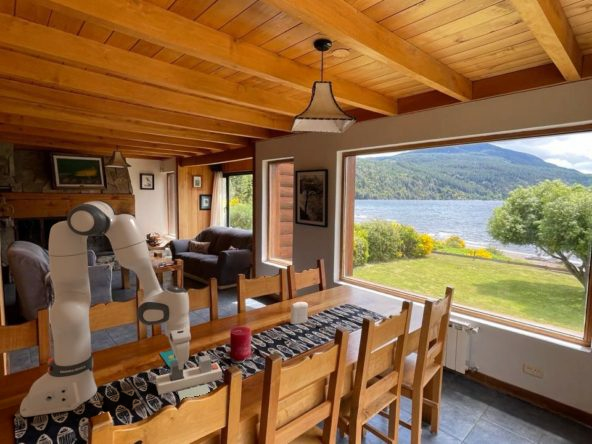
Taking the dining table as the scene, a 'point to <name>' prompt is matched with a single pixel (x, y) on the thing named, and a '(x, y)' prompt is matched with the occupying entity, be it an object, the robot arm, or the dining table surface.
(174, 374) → the block
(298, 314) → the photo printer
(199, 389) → the mat
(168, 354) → the teal passport
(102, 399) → the dining table surface
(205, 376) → the power strip
